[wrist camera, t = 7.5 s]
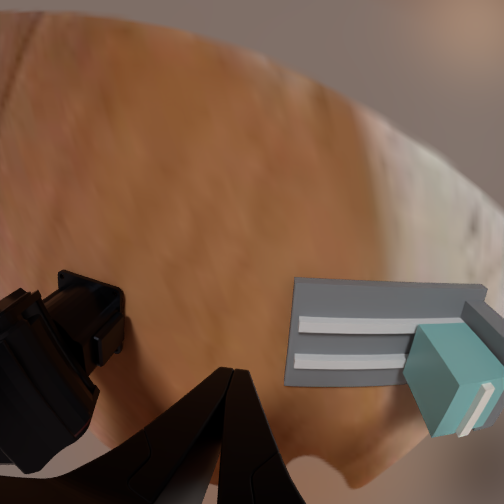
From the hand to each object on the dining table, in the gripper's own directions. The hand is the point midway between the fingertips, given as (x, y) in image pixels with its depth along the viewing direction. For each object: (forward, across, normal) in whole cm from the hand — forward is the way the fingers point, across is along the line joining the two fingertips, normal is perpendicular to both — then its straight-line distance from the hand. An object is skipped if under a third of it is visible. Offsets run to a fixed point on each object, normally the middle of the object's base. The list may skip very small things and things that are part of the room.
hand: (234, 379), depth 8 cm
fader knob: (+12, -13, +6) cm, 19 cm away
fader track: (+13, -10, +6) cm, 18 cm away
